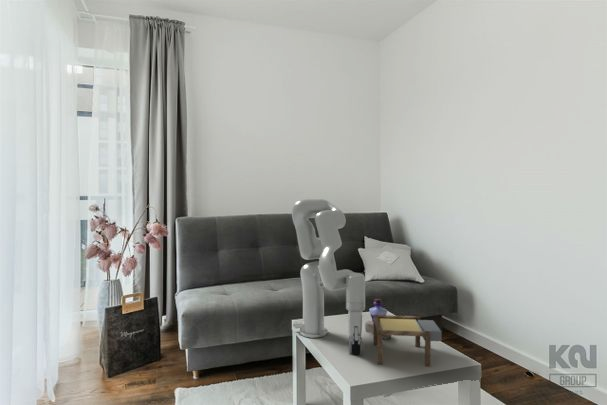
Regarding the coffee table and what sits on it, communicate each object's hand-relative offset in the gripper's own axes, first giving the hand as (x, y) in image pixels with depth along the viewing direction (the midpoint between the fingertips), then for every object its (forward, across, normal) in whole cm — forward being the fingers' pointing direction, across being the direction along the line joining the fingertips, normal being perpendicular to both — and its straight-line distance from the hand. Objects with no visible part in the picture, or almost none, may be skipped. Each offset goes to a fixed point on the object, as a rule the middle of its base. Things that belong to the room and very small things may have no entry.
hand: (355, 350), depth 143 cm
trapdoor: (-7, +1, +21) cm, 22 cm away
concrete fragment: (+1, -19, +10) cm, 21 cm away
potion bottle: (+1, -32, +12) cm, 34 cm away
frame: (+1, +1, +17) cm, 17 cm away
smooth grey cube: (+1, 0, 0) cm, 1 cm away
